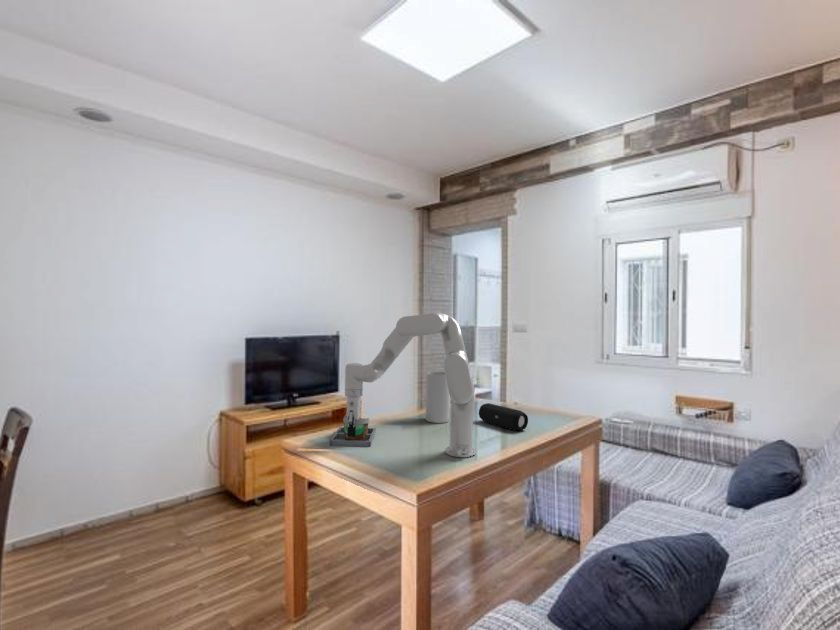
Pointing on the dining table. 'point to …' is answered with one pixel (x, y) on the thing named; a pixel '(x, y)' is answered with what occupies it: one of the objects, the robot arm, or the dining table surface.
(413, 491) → the dining table surface
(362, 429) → the food container
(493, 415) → the portable speaker
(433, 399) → the cylinder vase
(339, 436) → the tray
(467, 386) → the robot arm
